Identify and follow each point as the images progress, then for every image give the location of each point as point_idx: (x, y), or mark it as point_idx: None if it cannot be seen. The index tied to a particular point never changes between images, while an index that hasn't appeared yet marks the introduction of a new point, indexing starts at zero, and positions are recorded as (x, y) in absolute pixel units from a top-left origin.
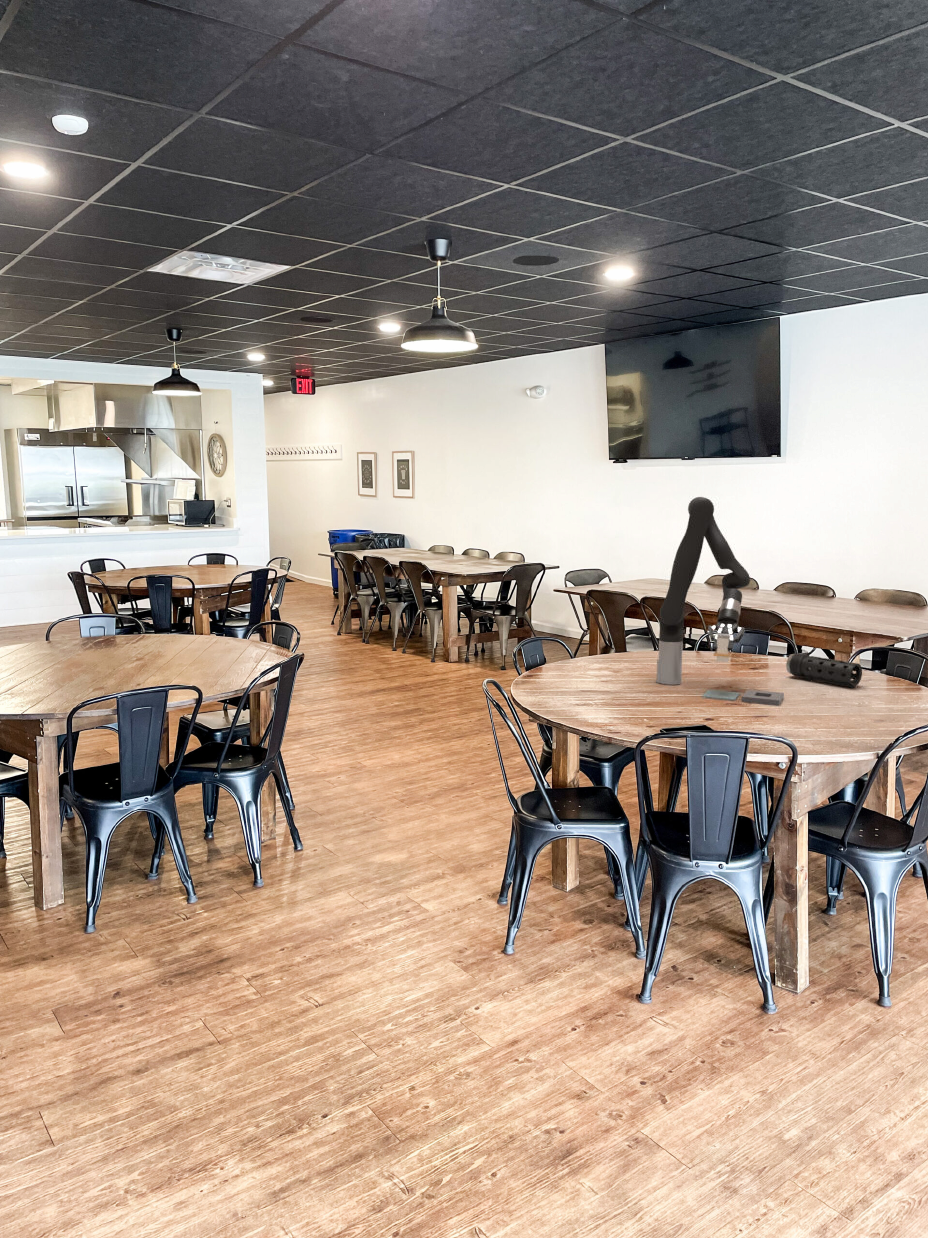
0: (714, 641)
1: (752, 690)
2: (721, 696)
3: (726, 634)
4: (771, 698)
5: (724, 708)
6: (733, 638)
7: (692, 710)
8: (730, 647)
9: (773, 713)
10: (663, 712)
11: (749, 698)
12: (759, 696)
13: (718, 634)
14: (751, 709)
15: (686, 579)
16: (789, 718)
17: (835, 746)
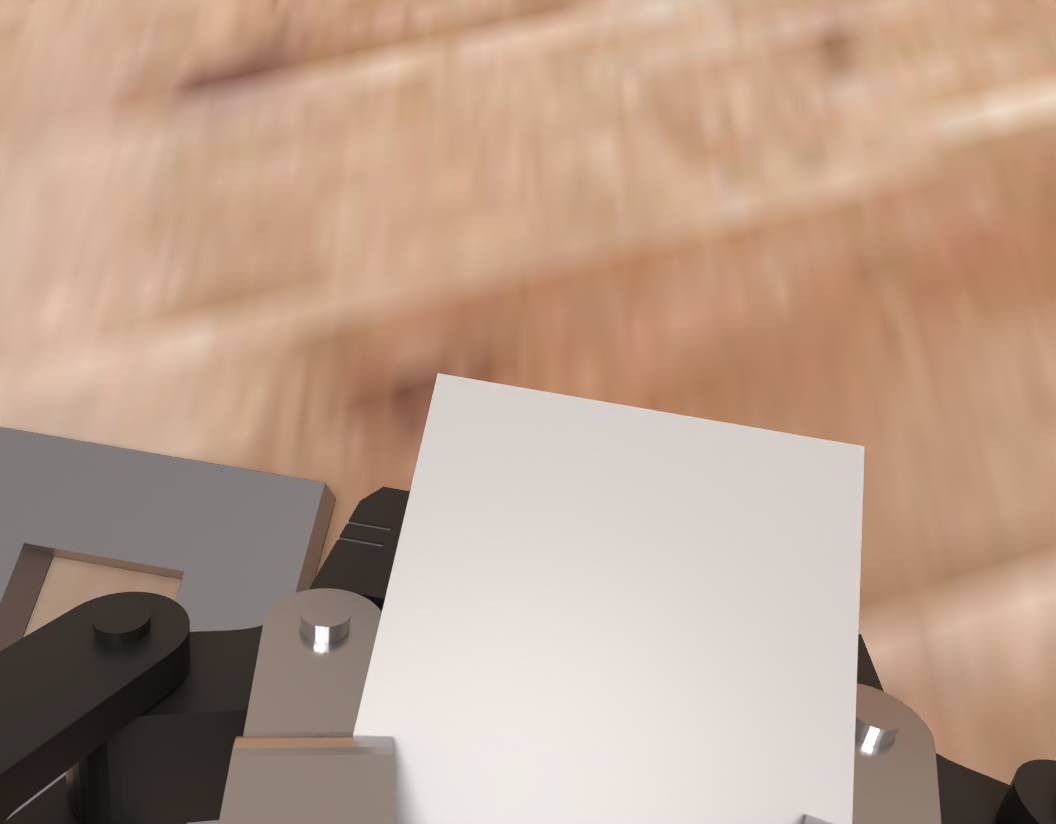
0: (878, 687)
1: None
2: None
3: (510, 650)
4: (23, 483)
5: (504, 229)
6: (245, 693)
7: (749, 112)
8: (396, 495)
9: (115, 176)
10: (942, 15)
11: (252, 474)
12: (134, 539)
13: (840, 572)
14: (278, 253)
15: None
16: (24, 71)
17: None
